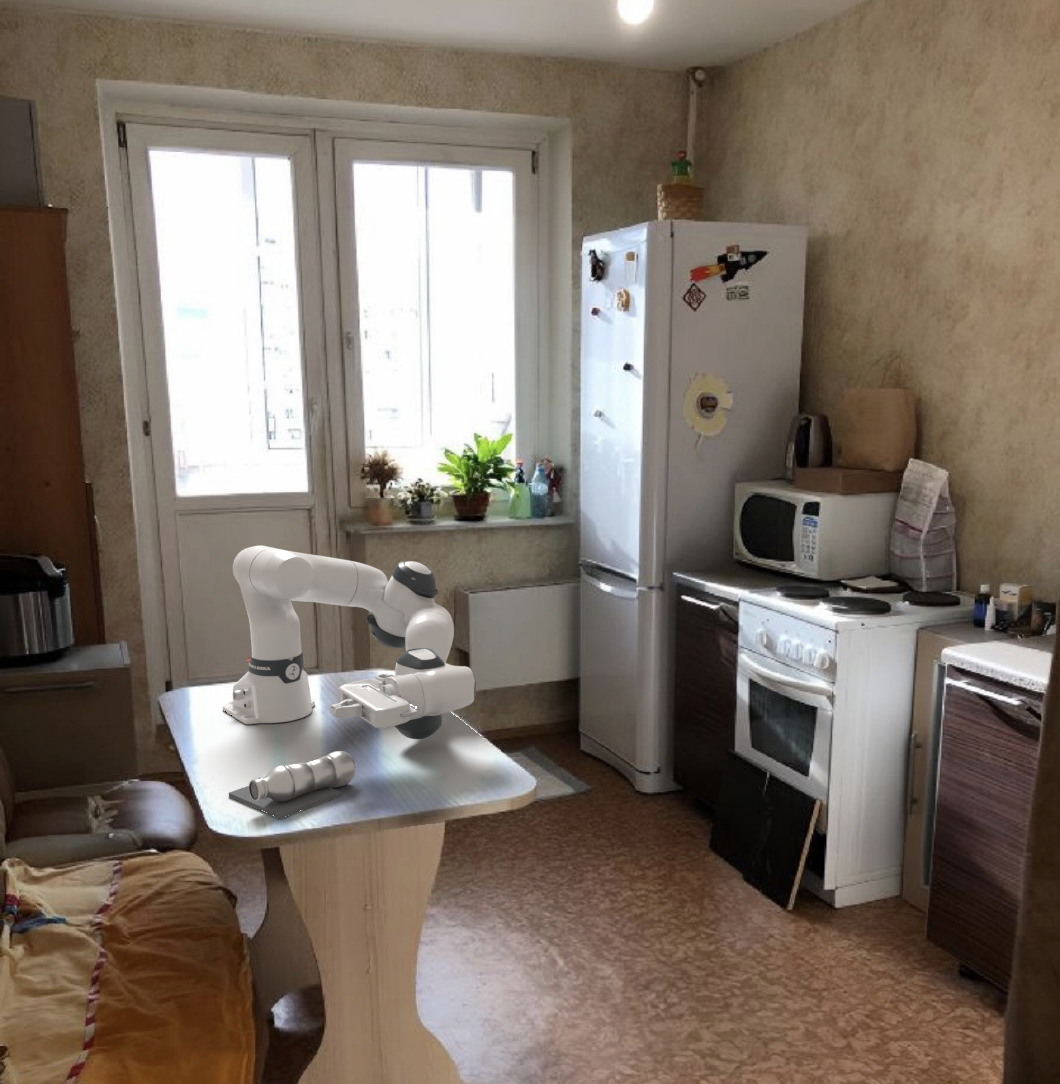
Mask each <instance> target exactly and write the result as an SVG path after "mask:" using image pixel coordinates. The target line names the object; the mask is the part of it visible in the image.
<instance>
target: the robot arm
mask: <svg viewBox="0 0 1060 1084" xmlns="http://www.w3.org/2000/svg"><path fill="white" fill-rule="evenodd" d="M232 574H233V577H234V579H235V580H236V581H237V584H238V585H239V588H240V592H241V596H242V599H243V603H244V605H245V609H246V614H247V617H248V623H249V632H250V641H251V645H250V646H251V656H248V657H247V656H246V659H248V660H246V663H248V668H247V672H246V673H245V674H244V675H243V676H242V677H241V678H240V679H238V681H237V682H235V684H234V685H233V687H232V701H230V702H227V703H226V704H224V705H222V711H223V710H224V712H225V711H226V712H227V713H226V712H225V713H226V714H228V715H229V716H231V715H232V716H231V717H233V718H234V719H236V720H238V721H239V722H241V723H243V724H244V725H254V724H273V723H274V724H277V723H285V722H286V723H287V722H292V721H296V720H299V719H303V718H304V717H305V718H306V717H307V716H308V715H309V716H310V714H311V713H312V712H313V707H315V705H316V704H315V700H314V699H312V697H311V690H310V684H309V677H308V672H306V671H305V670H304V668H305V657H304V652H303V651H302V639H301V622H300V618H299V616H298V614H297V612H296V611H295V608H294V606H293V603H292V602H307V603H308V602H309V603H319V604H326V605H335V606H341V607H351V608H353V607H354V608H356V607H357V608H362V609H365V610H366V611H368V612H370V614H368V615H366V617H365V621H366V623H367V624H369V630H370V632H371V634H372V636H373V638H374V640H376V641H377V642H378V643H380V645H383V646H385V647H387V648H391V649H397V650H400V649H403V648H405V652H403V653H402V654H401V655H400V656H399V657H398V658H397V659H396V661H395V662H396V663H395V670H394V672H395V673H394V674H395V675H393V674H389V673H388V674H387V673H380V674H379V673H378V674H376V675H375V676H374V677H375V678H364V679H360V680H355V681H352V682H348V683H344V684H341V686H339V687H337V688H338V689H337V698H338V703H334V704H331V705H330V706H329V712H330V715H332V716H334V717H335V718H338V719H340V718H344V717H348V718H357V717H359V718H361V719H362V720H364V721H365V722H366V723H368V724H370V725H371V726H372V727H374V728H375V729H387V728H391V727H395V728H396V730H397V731H399V733H400V734H401V735H403V736H404V737H406V738H408V739H410V740H411V739H413V740H422V739H426V738H429V737H430V736H432V735H433V734H435V733H436V732H437V731H438V730H439V729H440V728H441V726H442V724H443V721H442V719H443V718H442V714H446V713H450V712H454V711H457V710H461V709H463V708H466V707H468V706H471V704H473V703H474V701H475V698H476V693H477V692H476V689H477V682H476V676H475V675H474V672H473V671H472V669H471V668H470V667H469V666H465V665H463V666H462V665H461V666H460V665H453V664H450V663H447V660H448V656H449V655H450V651H451V648H452V645H453V642H454V638H455V626H454V621H453V618H452V615H451V613H450V612H449V611H448V610H447V608H445V607H443V606H442V605H439V604H438V603H436V602H435V597H436V596H437V595H439V589H438V588H437V585H436V583H437V582H436V578H435V575H434V573H433V571H432V570H431V569H430V568H429V567H427V566H426V565H425V564H422V563H421V562H419V561H412V560H402V561H399V562H398V563H397V565H396V566H395V568H393V570H392V572H391V577H390V579H389V580H388V577H387V576H386V574H385V572H383V571H382V570H381V569H379V568H376V567H375V566H372V565H369V564H366V563H362V562H358V561H353V560H348V559H343V558H337V557H330V556H324V555H318V554H317V555H316V554H309V553H305V552H297V551H291V550H286V549H281V548H276V547H272V546H266V545H255V546H250V547H246V548H244V549H242V550H241V551H239V552H238V553H237V555H236V556H235V558H234V560H233V563H232Z"/></svg>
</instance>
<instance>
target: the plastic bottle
mask: <svg viewBox="0 0 1060 1084" xmlns="http://www.w3.org/2000/svg"><path fill="white" fill-rule="evenodd" d="M356 771H357V770H356V764H355V760H354V759H353V757H352V756H351V754H350V753H348V752H346V751H344V750H339V751H332V752H329V753H327V754H326V755H324V756H322V757H319V758H316V759H313V760H309V761H305V762H299V763H295V764H283V765H282V764H280V765H276V766H274V767H273V768H271V769H270V770H269V771H268V773H266V774H265V776H264V777H257V778H255V779H252V780H250V781H249V783H248V786H249V793H250V796H251V798H252V799H253V800H254V801H258V800H265V799H267V797H268V798H270V799H272V800H275V801H278V802H286V801H289V800H291V799H294V798H296V797H298V796H300V795H302V794H305V793H308V792H311V791H314V790H318V789H324V788H339V787H344V786H346V785H348V784H350V783H351V782H352V781H353V780H354V779H355V776H356Z"/></svg>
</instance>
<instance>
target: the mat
mask: <svg viewBox="0 0 1060 1084" xmlns="http://www.w3.org/2000/svg"><path fill="white" fill-rule="evenodd" d="M341 795H342V794H341V791H339V790H336V789H334V788H333V787H329V788H324V789H318V790H314V791H311V792H308V793H305V794H302V795H300V796H298V797H296V798H294V799H291V800H289V801H286V802H278V801H275V800H272V799H270V798H268V797H267V799H265V800H258V801H254V800H253V799H252V798H251V796H250V793H249V785H246V786H244V787H241V788H238V789H236V790H233V791H229V792H228V798H230V797H231V798H230V799H233V800H235V801H237V800H239V801H240V802H239V801H238V802H239V803H242V802H243V803H242V804H244V803H245V805H246V804H247V806H249V805H250V806H249V807H251V806H252V807H251V808H253V807H255V808H257V809H256V810H258V809H259V810H258V811H260V810H263V811H265V812H267V813H268V815H269V814H270V816H271V815H274V816H275V817H274V816H273V817H274V818H276V817H278V818H279V819H278V818H277V819H278V820H283V819H285V818H286V817H285V816H288V815H291V816H293V815H296V814H298V813H300V812H299V811H300V810H303V811H306V810H308V809H311V808H313V807H316V806H318V805H322V804H323V803H326V802H329V801H331V800H334V799H337V798H339V797H340V796H341ZM255 808H254V809H255ZM305 809H306V810H305ZM265 812H264V813H265ZM297 812H298V813H297ZM267 813H266V814H267ZM295 813H296V814H295ZM292 814H293V815H292ZM284 817H285V818H284ZM288 817H289V816H288ZM282 818H283V819H282Z"/></svg>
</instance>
